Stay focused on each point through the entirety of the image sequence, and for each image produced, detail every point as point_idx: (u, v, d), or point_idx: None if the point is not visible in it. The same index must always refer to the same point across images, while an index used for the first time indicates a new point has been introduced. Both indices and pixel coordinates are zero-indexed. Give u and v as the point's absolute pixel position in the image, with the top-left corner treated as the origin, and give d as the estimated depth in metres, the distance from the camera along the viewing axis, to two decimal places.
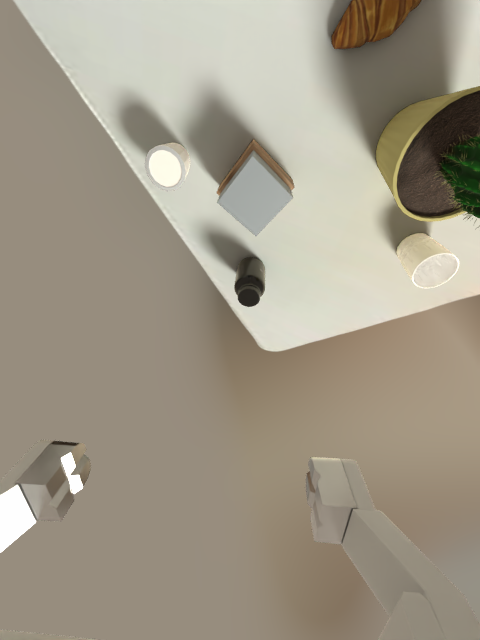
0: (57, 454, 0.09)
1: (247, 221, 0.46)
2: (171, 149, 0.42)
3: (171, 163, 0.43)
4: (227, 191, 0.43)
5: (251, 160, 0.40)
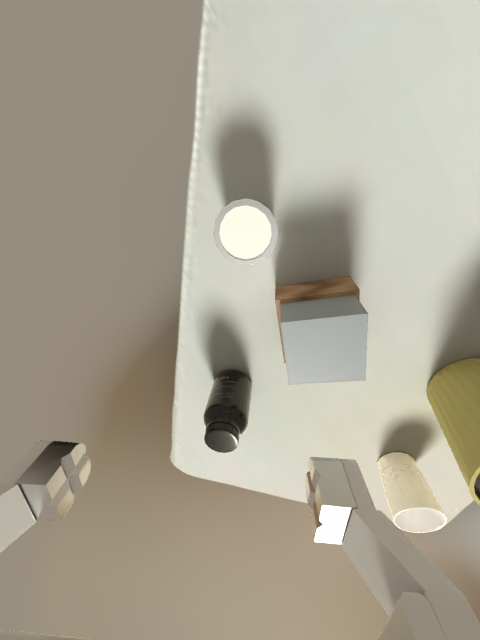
0: (57, 454, 0.09)
1: (295, 365, 0.31)
2: (274, 221, 0.26)
3: (259, 234, 0.27)
4: (304, 322, 0.28)
5: (362, 316, 0.27)
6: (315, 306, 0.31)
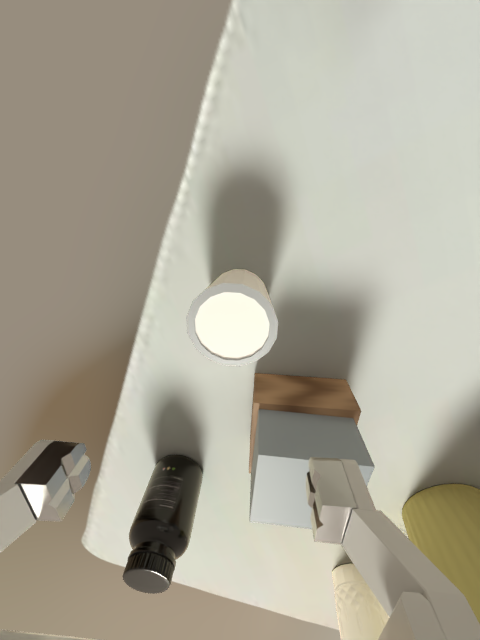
0: (57, 454, 0.09)
1: (264, 503, 0.23)
2: (275, 321, 0.19)
3: (251, 332, 0.19)
4: (290, 459, 0.20)
5: (366, 468, 0.20)
6: (304, 429, 0.23)
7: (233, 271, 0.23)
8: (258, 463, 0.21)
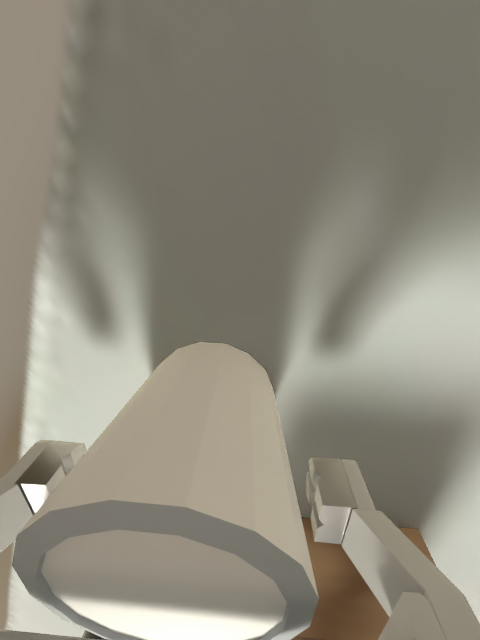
0: (57, 454, 0.09)
1: None
2: (309, 598, 0.05)
3: (226, 611, 0.06)
4: None
5: None
6: None
7: (194, 358, 0.10)
8: None
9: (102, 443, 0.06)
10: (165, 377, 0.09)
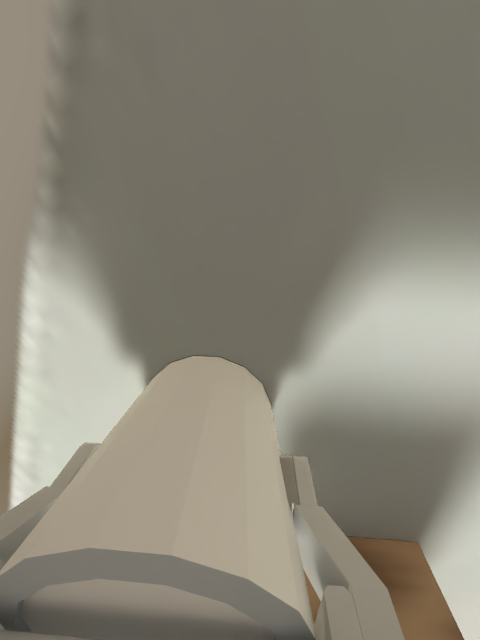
0: None
1: None
2: None
3: None
4: None
5: None
6: None
7: (186, 375, 0.09)
8: None
9: (87, 474, 0.06)
10: (156, 396, 0.08)
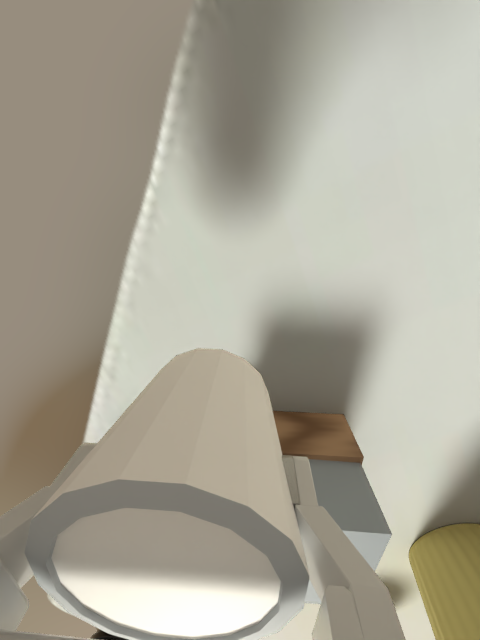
0: None
1: None
2: (301, 575, 0.06)
3: (225, 595, 0.06)
4: None
5: (381, 536, 0.16)
6: None
7: (192, 363, 0.10)
8: None
9: (108, 437, 0.07)
10: (165, 380, 0.09)
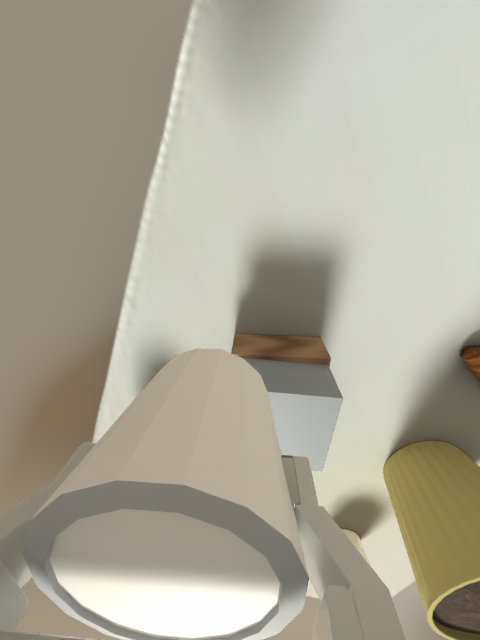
0: None
1: None
2: (300, 577, 0.06)
3: (224, 596, 0.06)
4: None
5: (335, 400, 0.22)
6: (281, 372, 0.25)
7: (191, 363, 0.10)
8: None
9: (107, 438, 0.07)
10: (165, 380, 0.09)
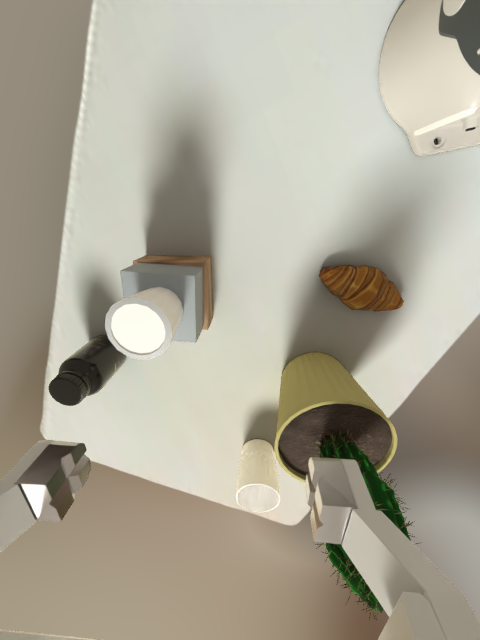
0: (57, 454, 0.09)
1: None
2: (170, 331, 0.26)
3: (151, 336, 0.26)
4: (141, 274, 0.31)
5: (190, 277, 0.31)
6: (162, 267, 0.34)
7: (156, 289, 0.30)
8: (122, 279, 0.32)
9: None
10: (146, 290, 0.29)
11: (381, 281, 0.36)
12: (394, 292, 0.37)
